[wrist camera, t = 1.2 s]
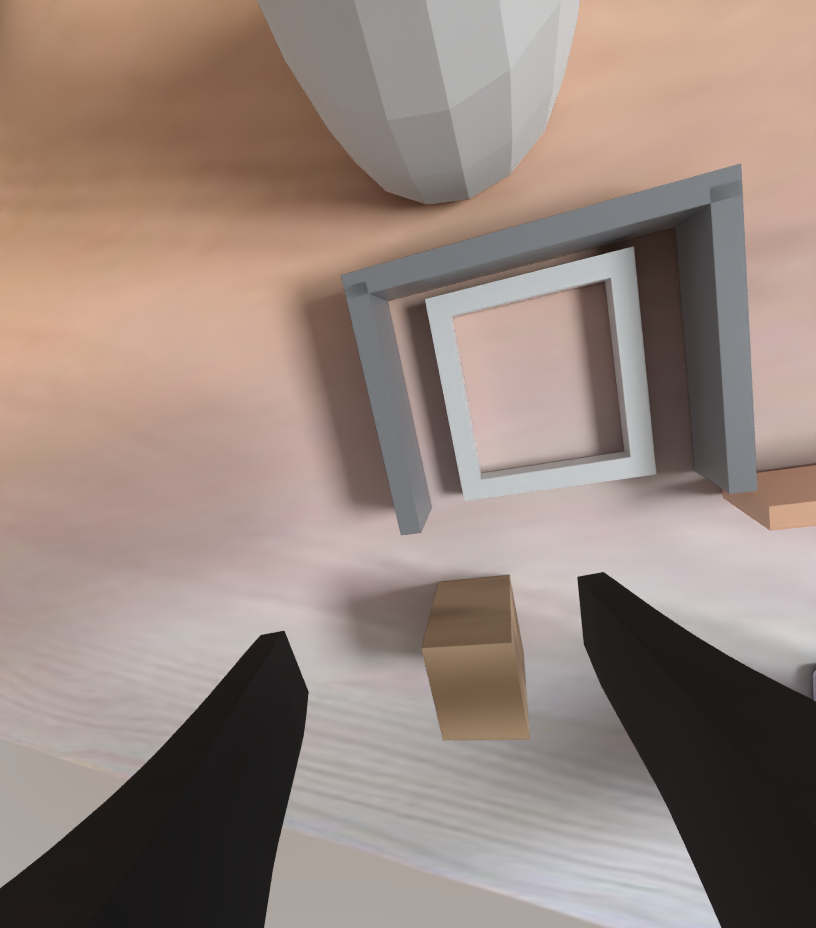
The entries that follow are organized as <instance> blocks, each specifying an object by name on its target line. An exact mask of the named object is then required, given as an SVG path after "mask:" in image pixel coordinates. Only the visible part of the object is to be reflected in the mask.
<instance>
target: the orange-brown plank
mask: <svg viewBox="0 0 816 928" xmlns="http://www.w3.org/2000/svg"><path fill="white" fill-rule="evenodd" d="M722 494H723V498H724V499H725V500H727V501H728V502H730V503H731V504H733V505H734V506H736V507H737V508H738V509H740V510H741V511H743V512H744V513H746V514H747V515H749V516H750V517H751V518H753V519H754V520H756V521H757V522H759V523H760V524H761V525H763V526H764V527H766V528H767V529H769V530H780V529H789V528H798V527H808V526H816V465H812V466H805V467H797V468H790V469H782V470H775V471H767V472H760V473H757V491H750V492H742V493H734V494H729V493H727V492H726V491H724V490H723V489H722Z"/></svg>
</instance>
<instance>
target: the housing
mask: <svg viewBox="0 0 816 928" xmlns="http://www.w3.org/2000/svg"><path fill="white" fill-rule="evenodd" d="M674 227H675V234H676V246H677V259H678V271H679V283H680V296H681V308H682V321H683V333H684V346H685V358H686V371H687V383H688V395H689V408H690V420H691V433H692V445H693V458H694V470H695V472H697V473H698V474H700V475H701V476H703V477H704V478H706V479H707V480H709V481H710V482H712V483H713V484H715V485H716V486H718V487H719V488H721V489H723V490H724V491H726V492H727V493H729V494H734V493H742V492H750V491H757V471H756V451H755V431H754V411H753V391H752V371H751V351H750V331H749V311H748V291H747V271H746V251H745V232H744V212H743V192H742V172H741V164H737V165H734V166H730V167H727V168H723V169H719V170H716V171H712V172H709V173H705V174H701V175H698V176H694V177H691V178H687V179H684V180H680V181H676V182H673V183H669V184H666V185H662V186H658V187H655V188H651V189H648V190H644V191H640V192H637V193H633V194H630V195H626V196H623V197H619V198H615V199H612V200H608V201H605V202H601V203H597V204H594V205H590V206H587V207H583V208H580V209H576V210H572V211H569V212H565V213H562V214H558V215H554V216H551V217H547V218H544V219H540V220H536V221H533V222H529V223H526V224H522V225H519V226H515V227H511V228H508V229H504V230H501V231H497V232H493V233H490V234H486V235H483V236H479V237H476V238H472V239H468V240H465V241H461V242H458V243H454V244H450V245H447V246H443V247H440V248H436V249H432V250H429V251H425V252H422V253H418V254H415V255H411V256H407V257H404V258H400V259H397V260H393V261H389V262H386V263H382V264H379V265H375V266H372V267H368V268H364V269H361V270H357V271H354V272H350V273H346V274H343V275H341V278H342V282H343V286H344V291H345V295H346V299H347V304H348V308H349V312H350V317H351V321H352V325H353V330H354V334H355V338H356V343H357V347H358V351H359V356H360V360H361V364H362V369H363V373H364V377H365V382H366V386H367V390H368V395H369V399H370V403H371V408H372V412H373V416H374V421H375V425H376V429H377V434H378V438H379V442H380V447H381V451H382V455H383V460H384V464H385V468H386V473H387V477H388V481H389V486H390V490H391V494H392V499H393V503H394V507H395V512H396V516H397V520H398V525H399V529H400V533H401V535H408V534H415V533H421V532H422V529H423V527H424V525H425V522H426V520H427V518H428V515H429V513H430V511H431V508H432V506H431V502H430V497H429V492H428V488H427V483H426V478H425V473H424V469H423V464H422V459H421V455H420V450H419V445H418V441H417V436H416V431H415V426H414V422H413V417H412V412H411V408H410V403H409V398H408V393H407V389H406V384H405V379H404V375H403V370H402V365H401V360H400V356H399V351H398V346H397V342H396V337H395V332H394V327H393V323H392V318H391V313H390V309H389V304H388V301H390V300H394V299H397V298H401V297H405V296H409V295H413V294H417V293H421V292H425V291H429V290H432V289H436V288H440V287H444V286H448V285H452V284H456V283H460V282H464V281H467V280H471V279H475V278H479V277H483V276H487V275H491V274H495V273H499V272H502V271H506V270H510V269H514V268H518V267H522V266H526V265H530V264H534V263H537V262H541V261H545V260H549V259H553V258H557V257H561V256H565V255H569V254H572V253H576V252H580V251H584V250H588V249H592V248H596V247H600V246H604V245H607V244H611V243H615V242H619V241H623V240H627V239H631V238H635V237H639V236H642V235H646V234H650V233H654V232H658V231H662V230H666V229H670V228H674ZM604 281H605V287H606V296H607V305H608V313H609V322H610V331H611V340H612V349H613V357H614V366H615V375H616V384H617V393H618V401H619V410H620V419H621V428H622V437H623V445H624V451H623V452H617V453H610V454H604V455H597V456H591V457H584V458H578V459H571V460H565V461H558V462H552V463H545V464H538V465H532V466H525V467H519V468H512V469H506V470H499V471H493V472H486V473H481V468H480V463H479V457H478V452H477V446H476V441H475V436H474V430H473V425H472V419H471V414H470V408H469V403H468V398H467V392H466V387H465V381H464V376H463V371H462V365H461V360H460V354H459V349H458V343H457V338H456V333H455V327H454V322H453V317H457V316H462V315H466V314H470V313H474V312H478V311H483V310H487V309H491V308H495V307H499V306H503V305H508V304H512V303H516V302H520V301H524V300H529V299H533V298H537V297H541V296H545V295H549V294H554V293H558V292H562V291H566V290H570V289H575V288H579V287H583V286H587V285H591V284H595V283H600V282H604ZM425 302H426V307H427V312H428V318H429V323H430V328H431V333H432V338H433V343H434V348H435V353H436V359H437V364H438V369H439V374H440V379H441V384H442V389H443V394H444V399H445V405H446V410H447V415H448V420H449V425H450V430H451V435H452V440H453V445H454V451H455V456H456V461H457V466H458V471H459V476H460V481H461V486H462V492H463V497H464V501H469V500H477V499H484V498H491V497H498V496H505V495H512V494H520V493H527V492H534V491H541V490H548V489H555V488H563V487H570V486H577V485H584V484H591V483H598V482H605V481H613V480H620V479H627V478H634V477H641V476H648V475H656V466H655V456H654V446H653V436H652V426H651V415H650V405H649V395H648V385H647V375H646V365H645V355H644V345H643V335H642V325H641V315H640V305H639V294H638V284H637V274H636V264H635V254H634V246H633V247H630V248H626V249H622V250H618V251H614V252H610V253H606V254H602V255H598V256H594V257H590V258H586V259H582V260H578V261H574V262H570V263H566V264H562V265H558V266H554V267H550V268H546V269H543V270H539V271H535V272H531V273H527V274H523V275H519V276H515V277H511V278H507V279H503V280H499V281H495V282H491V283H487V284H483V285H479V286H475V287H471V288H467V289H463V290H459V291H456V292H452V293H448V294H444V295H440V296H436V297H432V298H428V299H425Z"/></svg>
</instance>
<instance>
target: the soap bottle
mask: <svg viewBox="0 0 816 928" xmlns="http://www.w3.org/2000/svg"><path fill="white" fill-rule="evenodd" d="M257 2H258V4H259V6H260V8H261V10H262V13H263V15H264V17H265V19H266V21H267V23H268V26H269V28H270V30H271V32H272V34H273V36H274V38H275V41H276V43H277V45H278V47H279V49H280V51H281V54H282V56H283V58H284V60H285V62H286V63H287V65H288V66H289V68H290V70H291V71H292V73H293V74H294V76H295V78H296V79H297V81H298V82H299V84H300V86H301V87H302V89H303V90H304V92H305V93H306V95H307V97H308V98H309V100H310V101H311V103H312V105H313V106H314V108H315V109H316V111H317V113H318V114H319V116H320V117H321V119H322V121H323V122H324V124H325V125H326V127H327V128H328V130H329V131H330V132H331V133H332V135H333V136H334V137H335V138H336V140H337V141H338V142H339V143H340V145H341V146H342V147H343V148H344V150H345V151H346V152H347V153H348V154H349V156H350V157H351V158H352V159H353V161H354V162H355V163H356V164H357V165H358V166H359V167H360V168H362V169H363V170H364V171H365V172H366V173H367V174H368V175H369V176H370V177H371V178H372V179H373V180H374V181H375V182H377V183H378V184H379V185H380V186H381V187H382V188H383V189H384V190H385V191H386V192H389V193H393V194H396V195H399V196H402V197H405V198H408V199H411V200H414V201H417V202H420V203H423V204H427V205H429V204H437V203H445V202H452V201H460V200H467V199H471V198H472V197H474V196H476V195H477V194H479V193H481V192H482V191H484V190H486V189H487V188H489V187H491V186H492V185H494V184H496V183H497V182H499V181H501V180H502V179H504V178H506V177H507V176H509V175H510V174H511V173H512V171H513V170H514V169H515V168H516V166H517V165H518V164H519V163H520V161H521V160H522V159H523V158H524V156H525V155H526V154H527V153H528V151H529V150H530V149H531V148H532V146H533V145H534V144H535V143H536V141H537V140H538V139H539V138H540V136H541V135H542V134H543V133H544V131H545V128H546V125H547V123H548V120H549V117H550V114H551V112H552V109H553V106H554V103H555V101H556V98H557V95H558V92H559V90H560V87H561V84H562V81H563V79H564V75H565V70H566V66H567V62H568V58H569V53H570V49H571V45H572V40H573V36H574V32H575V28H576V23H577V17H578V10H579V2H580V0H257Z"/></svg>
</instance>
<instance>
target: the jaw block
mask: <svg viewBox="0 0 816 928" xmlns="http://www.w3.org/2000/svg"><path fill="white" fill-rule="evenodd" d="M421 649H422V653H423V657H424V662H425V666H426V670H427V674H428V679H429V683H430V687H431V691H432V696H433V700H434V704H435V708H436V713H437V717H438V721H439V725H440V730H441V734H442V738H443V740H523V739H530V736H529V722H528V707H527V693H526V679H525V665H524V652H523V647H522V641H521V636H520V630H519V625H518V619H517V613H516V608H515V602H514V597H513V591H512V586H511V580H510V575H503V576H493V577H483V578H473V579H463V580H453V581H443V582H439V584H438V587H437V591H436V595H435V599H434V602H433V606H432V610H431V614H430V618H429V621H428V625H427V629H426V633H425V636H424V640H423V644H422V648H421Z"/></svg>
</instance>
